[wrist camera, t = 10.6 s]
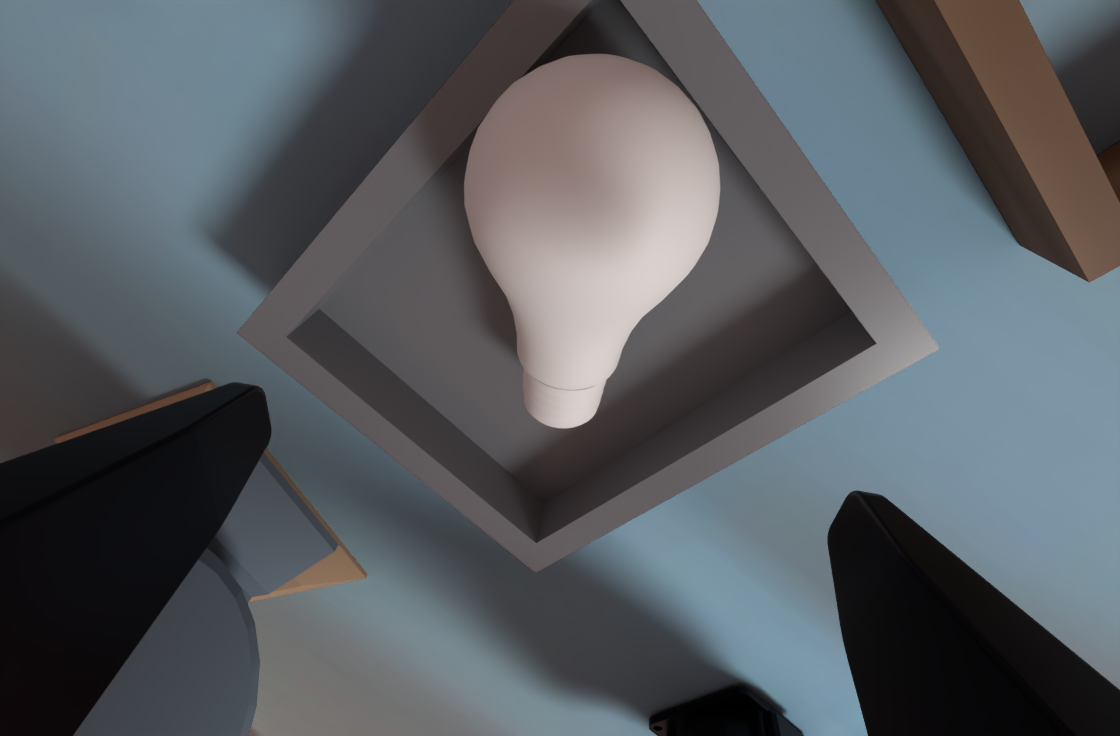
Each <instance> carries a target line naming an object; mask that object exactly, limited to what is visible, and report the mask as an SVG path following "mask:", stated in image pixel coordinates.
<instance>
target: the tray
mask: <svg viewBox="0 0 1120 736" xmlns="http://www.w3.org/2000/svg"><path fill="white" fill-rule="evenodd" d="M584 54H610V55H616V56H621V57H624V58H627V59H630V60H633V61H636V62H639V63H642V64H644V65H647V66H649V67H651V68H653V69H655V70H656V71H658V72H659V73H660V74H662V75H663V76H665V77H666V78H667V79H669V80H670V81H671V82H673V83H674V84H675V85H676V86H678V87H679V88H680V89H681V91H682V92H683V93H684V94H685V95H686V96H687V97H688V98H689V99H690V101H691V102H692V103H693V104H694V105H695V106H696V108H697V109H698V111H699V112H700V114H701V116H702V118H703V120H704V122H705V124H706V126H707V128H708V130H709V132H710V135H711V138H712V141H713V144H714V148H715V151H716V154H717V158H718V163H719V174H720V198H719V208H718V214H717V217H716V221H715V224H714V227H713V230H712V233H711V237H710V240H709V243H708V245H707V246H706V248H705V250H704V251H703V253H702V255H701V256H700V258H699V260H698V261H697V263H696V265H695V266H694V267H693V269H692V270H691V271H690V273H689V274H688V275H687V276H686V277H685V278H684V279H683V280H682V281H681V282H680V283H679V284H678V285H677V286H676V287H675V288H674V289H673V290H672V291H671V292H670V293H669V294H668V295H667V296H666V297H665V298H664V299H663V300H662V301H661V302H660V303H659V304H658V305H656V306H655V307H654V308H653V309H652V310H650V311H649V312H648V313H647V314H646V315H644V316H643V317H642V318H641V319H640V321H639V322H638V323H637V325H636V326H635V327H634V328H633V330H632V331H631V333H630V335H629V337H628V339H627V341H626V343H625V345H624V347H623V349H622V352H621V355H620V359H619V362H618V364H617V367H616V369H615V370H614V372H613V373H612V374H611V376H610V377H609V378H608V379H606V384H605V386H604V389H603V394H602V396H601V401H600V404H599V406H598V409H597V411H596V413H595V415H594V416H593V417H592V418H591V419H590V420H589V421H588V422H586V423H584V424H582V425H580V426H576V427H573V428H554V427H550V426H547V425H545V424H543V423H541V422H539V421H538V420H537V419H535V418H534V417H533V416H532V415H531V414H530V413H529V412H528V410H527V409H526V407H525V404H524V392H523V371H524V368H523V366H522V364H521V363H520V360H519V357H518V354H517V333H516V327H515V322H514V316H513V312H512V310H511V307H510V305H509V302H508V300H507V297H506V295H505V294H504V292H503V291H502V289H501V288H500V286H499V285H498V283H497V282H496V280H495V279H494V277H493V276H492V274H491V273H490V271H489V269H488V267H487V265H486V263H485V261H484V260H483V258H482V256H481V254H480V252H479V250H478V248H477V246H476V245H475V243H474V239H473V236H472V233H471V229H470V225H469V221H468V217H467V213H466V209H465V205H464V180H465V173H466V167H467V162H468V157H469V152H470V148H471V146H472V143H473V140H474V137H475V135H476V132H477V129H478V127H479V126H480V124H481V123H482V121H483V120H484V118H485V117H486V115H487V114H488V112H489V111H490V109H491V108H492V106H493V105H494V103H495V102H496V101H497V100H498V98H499V97H500V96H501V95H502V94H503V93H504V92H505V91H506V90H507V89H508V88H509V87H510V86H511V85H512V84H513V83H514V82H516V81H517V80H519V79H520V78H522V77H523V76H525V75H527V74H528V73H530V72H531V71H533V70H535V69H536V68H538V67H540V66H542V65H545V64H548V63H550V62H553V61H555V60H558V59H561V58H564V57H567V56H572V55H584ZM237 334H239V335H240V336H241V337H242V338H244V339H245V340H246V341H247V342H248V343H250V344H251V345H252V346H253V347H255V348H256V349H257V350H258V351H260V352H261V353H262V354H263V355H265V356H266V357H267V358H268V359H270V360H271V361H272V362H273V363H275V364H276V365H277V366H278V367H280V368H281V369H282V370H283V371H285V372H286V373H287V374H288V375H290V376H291V377H292V378H293V379H295V380H296V381H297V382H298V383H300V384H301V385H302V386H303V387H305V388H306V389H307V390H308V391H310V392H311V393H312V394H313V395H315V396H316V397H317V398H318V399H320V400H321V401H322V402H323V403H325V404H326V405H327V406H328V407H330V408H331V409H332V410H333V411H335V412H336V413H337V414H338V415H339V416H341V417H342V418H343V419H344V420H346V421H347V422H348V423H349V424H351V425H352V426H353V427H354V428H356V429H357V430H358V431H359V432H361V433H362V434H363V435H364V436H366V437H367V438H368V439H369V440H371V441H372V442H373V443H374V444H376V445H377V446H378V447H379V448H381V449H382V450H383V451H384V452H386V453H387V454H388V455H389V456H391V457H392V458H393V459H394V460H396V461H397V462H398V463H399V464H401V465H402V466H403V467H404V468H406V469H407V470H408V471H409V472H411V473H412V474H413V475H414V476H416V477H417V478H418V479H419V480H421V481H422V482H423V483H424V484H426V485H427V486H428V487H429V488H430V489H432V490H433V491H434V492H435V493H437V494H438V495H439V496H440V497H442V498H443V499H444V500H445V501H447V502H448V503H449V504H450V505H452V506H453V507H454V508H455V509H457V510H458V511H459V512H460V513H462V514H463V515H464V516H465V517H467V518H468V519H469V520H470V521H472V522H473V523H474V524H475V525H477V526H478V527H479V528H480V529H482V530H483V531H484V532H485V533H487V534H488V535H489V536H490V537H492V538H493V539H494V540H495V541H497V542H498V543H499V544H500V545H502V546H503V547H504V548H505V549H507V550H508V551H509V552H510V553H512V554H513V555H514V556H515V557H517V558H518V559H519V560H520V561H521V562H523V563H524V564H525V565H526V566H528V567H529V568H530V569H531V570H533V571H534V572H535V573H537V572H538V571H540V570H542V569H544V568H546V567H547V566H549V565H551V564H553V563H555V562H556V561H558V560H560V559H562V558H564V557H565V556H567V555H569V554H571V553H573V552H574V551H576V550H578V549H580V548H582V547H583V546H585V545H587V544H589V543H591V542H592V541H594V540H596V539H598V538H600V537H601V536H603V535H605V534H607V533H609V532H610V531H612V530H614V529H616V528H618V527H619V526H621V525H623V524H625V523H627V522H628V521H630V520H632V519H634V518H636V517H637V516H639V515H641V514H643V513H645V512H646V511H648V510H650V509H652V508H654V507H655V506H657V505H659V504H661V503H663V502H664V501H666V500H668V499H670V498H672V497H673V496H675V495H677V494H679V493H681V492H682V491H684V490H686V489H688V488H690V487H691V486H693V485H695V484H697V483H699V482H701V481H702V480H704V479H706V478H708V477H710V476H711V475H713V474H715V473H717V472H719V471H720V470H722V469H724V468H726V467H728V466H729V465H731V464H733V463H735V462H737V461H738V460H740V459H742V458H744V457H746V456H747V455H749V454H751V453H753V452H755V451H756V450H758V449H760V448H762V447H764V446H765V445H767V444H769V443H771V442H773V441H774V440H776V439H778V438H780V437H782V436H783V435H785V434H787V433H789V432H791V431H792V430H794V429H796V428H798V427H800V426H801V425H803V424H805V423H807V422H809V421H810V420H812V419H814V418H816V417H818V416H819V415H821V414H823V413H825V412H827V411H828V410H830V409H832V408H834V407H836V406H837V405H839V404H841V403H843V402H845V401H846V400H848V399H850V398H852V397H854V396H855V395H857V394H859V393H861V392H863V391H864V390H866V389H868V388H870V387H872V386H873V385H875V384H877V383H879V382H881V381H882V380H884V379H886V378H888V377H890V376H891V375H893V374H895V373H897V372H899V371H901V370H902V369H904V368H906V367H908V366H910V365H911V364H913V363H915V362H917V361H919V360H920V359H922V358H924V357H926V356H928V355H929V354H931V353H933V352H935V351H937V350H938V349H940V348H939V347H938V345H937V344H936V342H935V341H934V339H933V338H932V337H931V335H930V334H929V332H928V331H927V329H926V328H925V327H924V325H923V324H922V322H921V321H920V319H919V318H918V317H917V315H916V314H915V312H914V311H913V309H912V308H911V307H910V305H909V304H908V302H907V301H906V299H905V298H904V296H903V295H902V294H901V292H900V291H899V289H898V288H897V286H896V285H895V284H894V282H893V281H892V279H891V278H890V276H889V275H888V274H887V272H886V271H885V269H884V268H883V266H882V265H881V264H880V262H879V261H878V259H877V258H876V256H875V255H874V254H873V252H872V251H871V249H870V248H869V246H868V245H867V244H866V242H865V241H864V239H863V238H862V236H861V235H860V234H859V232H858V231H857V229H856V228H855V226H854V225H853V223H852V222H851V221H850V219H849V218H848V216H847V215H846V213H845V212H844V211H843V209H842V208H841V206H840V205H839V203H838V202H837V201H836V199H835V198H834V196H833V195H832V193H831V192H830V191H829V189H828V188H827V186H826V185H825V183H824V182H823V181H822V179H821V178H820V176H819V175H818V173H817V172H816V171H815V169H814V168H813V166H812V165H811V163H810V162H809V160H808V159H807V158H806V156H805V155H804V153H803V152H802V150H801V149H800V148H799V146H798V145H797V143H796V142H795V140H794V139H793V138H792V136H791V135H790V133H789V132H788V130H787V129H786V128H785V126H784V125H783V123H782V122H781V120H780V119H779V118H778V116H777V115H776V113H775V112H774V110H773V109H772V108H771V106H770V105H769V103H768V102H767V100H766V99H765V98H764V96H763V95H762V93H761V92H760V90H759V89H758V87H757V86H756V85H755V83H754V82H753V80H752V79H751V77H750V76H749V75H748V73H747V72H746V70H745V69H744V67H743V66H742V65H741V63H740V62H739V60H738V59H737V57H736V56H735V55H734V53H733V52H732V50H731V49H730V47H729V46H728V45H727V43H726V42H725V40H724V39H723V37H722V36H721V35H720V33H719V32H718V30H717V29H716V27H715V26H714V25H713V23H712V22H711V20H710V19H709V17H708V16H707V14H706V13H705V12H704V10H703V9H702V7H701V6H700V4H699V3H698V2H697V0H513V2H512V3H511V4H510V5H509V6H508V8H507V9H506V10H505V11H504V12H503V14H502V15H501V16H500V17H499V18H498V20H497V21H496V22H495V23H494V24H493V26H492V27H491V28H490V29H489V30H488V32H487V33H486V34H485V35H484V36H483V38H482V39H481V40H480V41H479V42H478V44H477V45H476V46H475V47H474V48H473V50H472V51H471V52H470V53H469V54H468V56H467V57H466V58H465V59H464V60H463V62H462V63H461V64H460V65H459V66H458V68H457V69H456V70H455V71H454V72H453V74H452V75H451V76H450V77H449V78H448V80H447V81H446V82H445V83H444V84H443V86H442V87H441V88H440V89H439V90H438V92H437V93H436V94H435V95H434V96H433V98H432V99H431V100H430V101H429V102H428V104H427V105H426V106H425V107H424V108H423V110H422V111H421V112H420V113H419V114H418V116H417V117H416V118H415V119H414V120H413V122H412V123H411V124H410V125H409V126H408V128H407V129H406V130H405V131H404V132H403V134H402V135H401V136H400V137H399V138H398V140H397V141H396V142H395V143H394V144H393V146H392V147H391V148H390V149H389V150H388V152H387V153H386V154H385V155H384V156H383V158H382V159H381V160H380V161H379V162H378V164H377V165H376V166H375V167H374V168H373V170H372V171H371V172H370V173H369V174H368V176H367V177H366V178H365V179H364V180H363V182H362V183H361V184H360V185H359V186H358V188H357V189H356V190H355V191H354V192H353V194H352V195H351V196H350V197H349V198H348V200H347V201H346V202H345V203H344V204H343V206H342V207H341V208H340V209H339V210H338V212H337V213H336V214H335V215H334V216H333V218H332V219H331V220H330V221H329V222H328V224H327V225H326V226H325V227H324V228H323V230H322V231H321V232H320V233H319V234H318V236H317V237H316V238H315V239H314V240H313V242H312V243H311V244H310V245H309V246H308V248H307V249H306V250H305V251H304V252H303V254H302V255H301V256H300V257H299V258H298V260H297V261H296V262H295V263H294V264H293V266H292V267H291V268H290V269H289V270H288V272H287V273H286V274H285V275H284V276H283V278H282V279H281V280H280V281H279V282H278V284H277V285H276V286H275V287H274V288H273V290H272V291H271V292H270V293H269V294H268V296H267V297H266V298H265V299H264V300H263V302H262V303H261V304H260V305H259V306H258V308H257V309H256V310H255V311H254V312H253V314H252V315H251V316H250V317H249V318H248V320H247V321H246V322H245V323H244V324H243V326H242V327H241V328H240V329H239V330H238V332H237Z"/></svg>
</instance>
